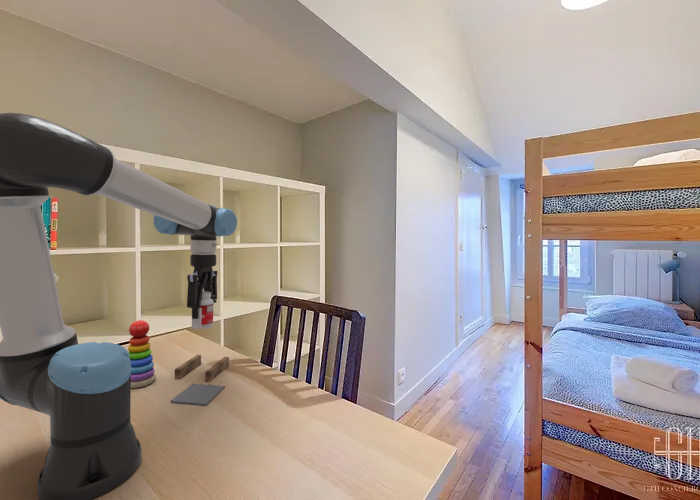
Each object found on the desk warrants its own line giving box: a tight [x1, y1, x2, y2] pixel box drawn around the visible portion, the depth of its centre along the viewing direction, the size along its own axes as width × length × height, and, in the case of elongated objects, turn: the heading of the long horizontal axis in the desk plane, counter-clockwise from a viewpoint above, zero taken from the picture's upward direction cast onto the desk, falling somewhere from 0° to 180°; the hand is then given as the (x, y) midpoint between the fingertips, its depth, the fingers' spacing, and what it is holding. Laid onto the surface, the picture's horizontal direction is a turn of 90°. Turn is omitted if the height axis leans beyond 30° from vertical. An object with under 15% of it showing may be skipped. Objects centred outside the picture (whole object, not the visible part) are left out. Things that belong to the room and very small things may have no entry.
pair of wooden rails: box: [174, 354, 230, 383], centre depth 104 cm, size 12×12×3 cm
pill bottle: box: [200, 290, 214, 330], centre depth 103 cm, size 6×6×11 cm
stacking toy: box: [127, 319, 157, 389], centre depth 96 cm, size 8×8×19 cm
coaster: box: [170, 383, 226, 407], centre depth 90 cm, size 10×10×1 cm
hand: (202, 325), depth 103 cm, fingers closed on pill bottle, 6 cm apart
